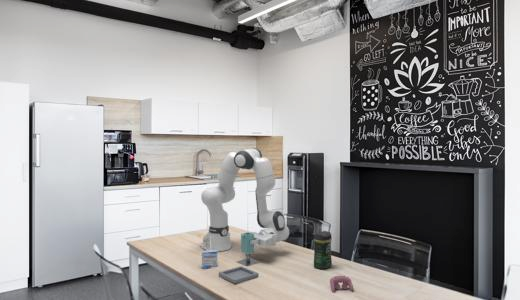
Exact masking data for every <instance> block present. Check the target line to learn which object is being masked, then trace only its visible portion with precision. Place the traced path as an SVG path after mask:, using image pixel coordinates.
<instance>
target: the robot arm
mask: <svg viewBox="0 0 520 300" xmlns="http://www.w3.org/2000/svg"><path fill="white" fill-rule="evenodd" d="M240 169H242V170H250V171H251V170H252V171H253V172H254V176H255V181H256V187H255V203H256V210H257V211H256V212H257V214H256V221H257V225H258V226H259V227H260V228H262V229H260V231H259V232H256V231H249V232H250V233H253V234H254V240H250V241H249V244H254V245H260V246H262V247H271V246H273V247H274V246H277V245H276V244H277V243H280V242H283V241H285V240H286V239H288V237H289V235H290V229H289V227H288V226H287V225H286V222H285V216H284V214H283V213H282V212H281V211H279V210H277V211H276V210H271V211H270V210H268V206H267V205H268V204H267V194H268V193H269V192H271V191H273V189H274V187H275V186H276V176H275V172H274V168H273V166H272V163H271V161H270V159H269V158H267V157H263V153H262V152H261V150H259V148H256V147H251V148H246V149H243V150H240V151H238V152H236V151H231V152H229V153H227V155H226V156H225V158H224V160H223V161H222V164H221V166H220V169H219V171H218V174H217V175H216V176H217V180H218V182H219V183H218V185H217V186H214V187H208V188H206V189H204V190H203V191H202V192H201V196H200V197H201V202H202V203H203V204H204V205H205V206H206V208H207V210H208V212H209V219H210V220H209V223H210V225H209V226H208V231H207V233H206V234H205V235H203V238H202V242H201V243H200V244H199V245H200V246H201V247H200V246H199V247H200V248H202V249H203V250H204V249H205V250H204V251H206V250H217V252H222V251H227V250H230V249H231V248H232V246H233V243H232V242H231V234H230V232H229V230H230V227H229V219H228V217H229V215H228V214H229V213H228V211H226V210H225V209H224V207H223V204H227V203H229V202H231V201H232V200H235V199H234V198H235V196H236V190H235V188H234V184H235V181H236V180H237V179H236V178H237V176H238V174H239V171H240Z"/></svg>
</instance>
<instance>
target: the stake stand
mask: <svg viewBox="0 0 520 300" xmlns="http://www.w3.org/2000/svg"><path fill="white" fill-rule="evenodd" d="M236 263H237V264H239V265H240V266H243V267H245V268H247V267H251V266H253V265H256V264H260V263H262V262H261V261H258V260H255V259H253V258H251V253H248V254H246V253H245V259H241V260H238V261H236Z"/></svg>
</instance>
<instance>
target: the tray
mask: <svg viewBox="0 0 520 300" xmlns="http://www.w3.org/2000/svg"><path fill="white" fill-rule="evenodd" d="M218 277H219V278H221V279H223V280H224V281H227V282H229V283H230V284H233V285H238V284H241V283H244V282H248V281H250V280H254V279H257V278H259V272H257V271H254V270H252V269H249V268H247V267H246V266H244V265H240V266H237V267H232V268H231V269H230V268H229V269H225V270H223V271H219V272H218Z"/></svg>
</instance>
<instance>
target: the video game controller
mask: <svg viewBox="0 0 520 300" xmlns="http://www.w3.org/2000/svg"><path fill="white" fill-rule="evenodd" d="M340 283H342V284H341V285H340ZM329 284H330V289H331V291H332V293H335V290H340V289H341V288H342V289H343V290H347V288H349V290H350V292H354V285H353V282H352V279H351V278H350V277H349V276H346V275H335V276H332V277H331V278H330V279H329Z"/></svg>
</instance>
